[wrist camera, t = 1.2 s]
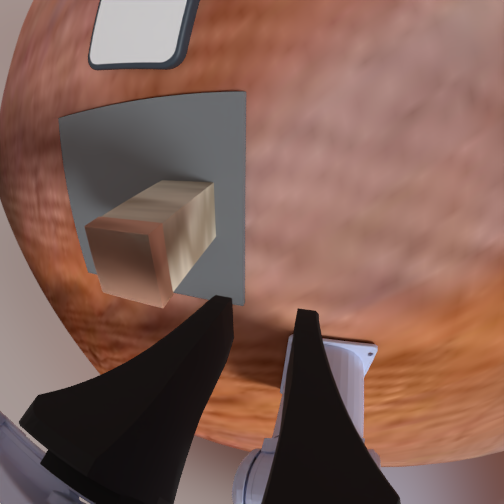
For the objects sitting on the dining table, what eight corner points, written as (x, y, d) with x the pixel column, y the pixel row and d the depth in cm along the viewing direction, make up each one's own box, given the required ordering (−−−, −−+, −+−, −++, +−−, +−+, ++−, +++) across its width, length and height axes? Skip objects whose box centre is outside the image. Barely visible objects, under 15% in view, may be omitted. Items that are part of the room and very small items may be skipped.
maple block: (216, 237, 20) (163, 308, 14) (166, 231, 21) (102, 292, 14) (214, 181, 18) (148, 234, 12) (161, 179, 19) (84, 226, 12)
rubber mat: (244, 302, 23) (243, 306, 23) (91, 269, 27) (88, 272, 26) (246, 91, 15) (244, 91, 15) (62, 117, 19) (58, 118, 18)
